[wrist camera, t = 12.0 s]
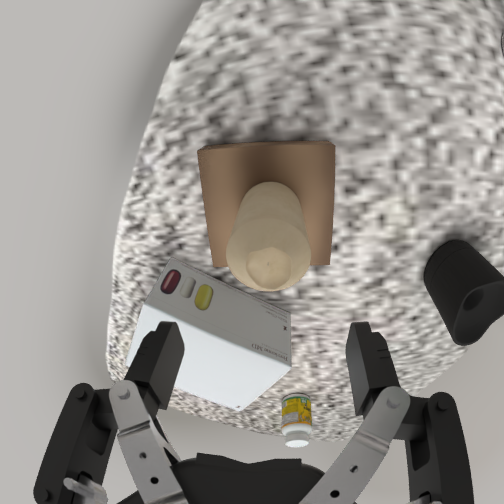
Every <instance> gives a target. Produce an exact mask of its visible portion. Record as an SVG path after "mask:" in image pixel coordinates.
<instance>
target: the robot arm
mask: <svg viewBox="0 0 504 504" xmlns="http://www.w3.org/2000/svg"><path fill="white" fill-rule="evenodd" d="M502 48H503V53H504V32H503V35H502ZM184 351H185V346H184V342H183V339H182V336H181V333H180V330H179V327H178V324H177V323H176V322H170V321H160V322H159V324H158V326H157V328H156V330H155V331H150V332H149V333H148V334H147V335H146V336H145V337H144V338H143V340H142V342H141V344H140V346H139V348H138V350H137V352H136V355H135V357H134V359H133V361H132V363H131V365H130V367H129V370H128V372H127V374H126V376H125V378H124V380H121V381H118V382H116V383H115V384H114V385H113V386H112V387H111V388H110V389H100V390H94V389H93V388H92V386H91V385H89V384H87V383H80V384H77V385H76V386H74V387H73V388H72V390H71V391H70V393H69V396H68V398H67V400H66V402H65V405H64V407H63V409H62V412H61V414H60V416H59V419H58V421H57V424H56V426H55V429H54V431H53V434H52V436H51V439H50V442H49V444H48V447H47V450H46V452H45V455H44V458H43V461H42V464H41V467H40V470H39V473H38V476H37V479H36V483H35V486H34V490H33V491H34V492H33V494H34V498H35V501H36V502H37V504H107V502H108V498H107V494H106V491H105V490H104V488H103V487H102V483H103V479H104V475H105V471H106V468H107V464H108V460H109V457H110V453H111V450H112V446H113V443H114V439H115V436H116V433H117V429H119V431H120V433H119V434H118V435H117V437H118V441H119V444H120V446H121V449H122V452H123V455H124V458H125V460H126V463H127V465H128V468H129V470H130V472H131V475H132V477H133V480H134V482H135V484H136V486H137V488H138V490H137V491H136V492H135V493H133V494H131V495H130V496H128V497H127V498H125V499H124V500H122V501H121V502H119V503H117V504H357V503H356V502H355V500H356V499H357V498H358V496H359V495H360V493H361V492H362V491H363V489H364V488H365V487H366V485H367V484H368V482H369V481H370V479H371V478H372V476H373V474H374V473H375V472H376V470H377V469H378V467H379V465H380V464H381V462H382V460H383V459H384V457H385V456H386V454H387V452H388V450H389V445H390V443H391V441H392V439H399V440H405V447H406V455H407V464H408V476H409V490H410V502H409V503H408V504H474V495H473V486H472V479H471V471H470V465H469V459H468V454H467V448H466V444H465V439H464V434H463V430H462V426H461V422H460V418H459V414H458V410H457V407H456V403H455V401H454V399H453V397H452V396H451V395H449V394H448V393H445V392H438V393H435V394H433V395H432V396H431V397H430V398H420V397H414V396H410V395H409V394H408V393H407V392H406V391H405V390H404V389H402V388H401V387H400V384H399V381H398V378H397V374H396V371H395V368H394V364H393V361H392V358H391V355H390V352H389V351H388V346H387V343H386V340H385V339H384V337H383V336H382V335H381V334H380V333H379V332H372V331H371V328H370V325H369V323H368V322H352V323H351V326H350V330H349V335H348V339H347V343H346V360H347V365H348V370H349V376H350V382H351V388H352V394H353V400H354V407H355V414H356V416H359V415H363V419H364V421H363V423H362V424H361V426H360V427H359V429H358V430H357V432H356V433H355V434H354V436H353V437H352V439H351V440H350V442H349V443H348V444H347V446H346V447H345V448H344V450H343V451H342V453H341V454H340V455H339V457H338V458H337V459H336V461H335V462H334V463H333V464H332V466H331V467H330V468H329V469H328V471H327V472H326V473H324V472H323V471H321V470H320V469H318V468H315V467H313V466H310V465H307V464H302V463H301V459H273V460H267V461H262V462H257V463H251V464H247V463H243V462H239V461H236V460H233V459H230V458H227V457H224V456H218V455H211V454H203V453H197V457H196V458H191V459H186V460H183V461H181V460H180V457H179V456H178V454H177V453H176V452H175V450H174V448H173V447H172V445H171V443H170V442H169V439H168V437H167V435H166V433H165V431H164V429H163V427H162V425H161V423H160V421H159V418H158V416H157V412H158V409H164V410H166V409H167V407H168V403H169V400H170V397H171V394H172V390H173V387H174V384H175V381H176V378H177V375H178V372H179V369H180V365H181V362H182V359H183V356H184Z"/></svg>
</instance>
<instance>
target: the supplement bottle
mask: <svg viewBox="0 0 504 504" xmlns="http://www.w3.org/2000/svg"><path fill="white" fill-rule="evenodd" d="M311 431H312V417H311V400H310V398H309V397H308V396H307V395H304V394H290V395H288V396H286V397H284V398H283V400H282V433H283V434H284V435H285V436H286V438H285V444H286V445H287V446H289V447H302V446H306V445H308V443H309V437H308V435H309V434H310V433H311Z"/></svg>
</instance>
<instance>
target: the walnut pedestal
mask: <svg viewBox="0 0 504 504" xmlns="http://www.w3.org/2000/svg"><path fill="white" fill-rule="evenodd" d="M197 154H198V162H199V170H200V178H201V186H202V194H203V201H204V208H205V215H206V222H207V229H208V236H209V242H210V249H211V255H212V261H213V267H228V264H227V260H226V248H227V244H228V241H229V238H230V235H231V232H232V229H233V226H234V223H235V220H236V217H237V214H238V211H239V208H240V205H241V202H242V200H243V198H244V196H245V194H246V193H247V192H248V191H249V190H250V189H251V188H252V187H254V186H256V185H258V184H260V183H263V182H277V183H281V184H283V185H285V186H287V187H288V188H290V189H291V190H292V191H293V192H294V193H295V194H296V196H297V198H298V200H299V202H300V205H301V209H302V213H303V218H304V222H305V226H306V231H307V235H308V240H309V244H310V249H311V261H310V265H330V256H331V243H332V229H333V212H334V188H335V145H334V144H332V143H331V142H329V141H272V142H250V143H235V144H222V145H211V146H204V147H203V148H201V149H200V150H198V151H197Z"/></svg>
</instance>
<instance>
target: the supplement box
mask: <svg viewBox="0 0 504 504" xmlns="http://www.w3.org/2000/svg"><path fill="white" fill-rule="evenodd" d="M160 321H170V322H176V323H177V324H178V327H179V330H180V333H181V336H182V339H183V342H184V346H185V351H184V356H183V359H182V362H181V365H180V369H179V372H178V375H177V378H176V381H175V384H174V387H175V388H177V389H180V390H182V391H185V392H187V393H190V394H192V395H195V396H198V397H200V398H203V399H206V400H208V401H211V402H214V403H217V404H220V405H223V406H226V407H228V408H231V409H234V410H237V411H241V410H243V409H244V408H245V407H247V406H248V405H249V404H250V403H252V402H253V401H254V400H255V399H256V398H258V397H259V396H260V395H261V394H262V393H264V392H265V391H266V390H267V389H268V388H270V387H271V386H272V385H273V384H274V383H276V382H277V381H278V380H279V379H280V378H282V377H283V376H284V375H285V374H286V373H287V372H288V371H289V370H290V369H291V368H292V361H291V314H290V313H289V312H286V311H284V310H282V309H280V308H277V307H275V306H273V305H271V304H269V303H267V302H264V301H262V300H260V299H258V298H256V297H254V296H251V295H249V294H247V293H245V292H243V291H241V290H239V289H236V288H234V287H232V286H230V285H228V284H226V283H224V282H222V281H220V280H218V279H216V278H214V277H212V276H209V275H207V274H205V273H203V272H201V271H199V270H197V269H195V268H193V267H191V266H189V265H187V264H185V263H183V262H181V261H179V260H177V259H175V258H173V257H171V259H170V260H169V262H168V264H167V265H166V267H165V269H164V270H163V272H162V274H161V275H160V277H159V279H158V281H157V282H156V284H155V286H154V287H153V289H152V291H151V292H150V294H149V295H148V297H147V299H146V300H145V302H144V304H143V306H142V310H141V312H140V316H139V319H138V322H137V325H136V329H135V332H134V335H133V338H132V342H131V345H130V348H129V352H128V355H127V358H126V362H125V365H126V366H128V367H130V365H131V363H132V361H133V359H134V357H135V355H136V352H137V350H138V348H139V346H140V344H141V342H142V340H143V338H144V337H145V336H146V335H147V334H148V333H149V332H150V331H155V330H156V328H157V326H158V324H159V322H160Z"/></svg>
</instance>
